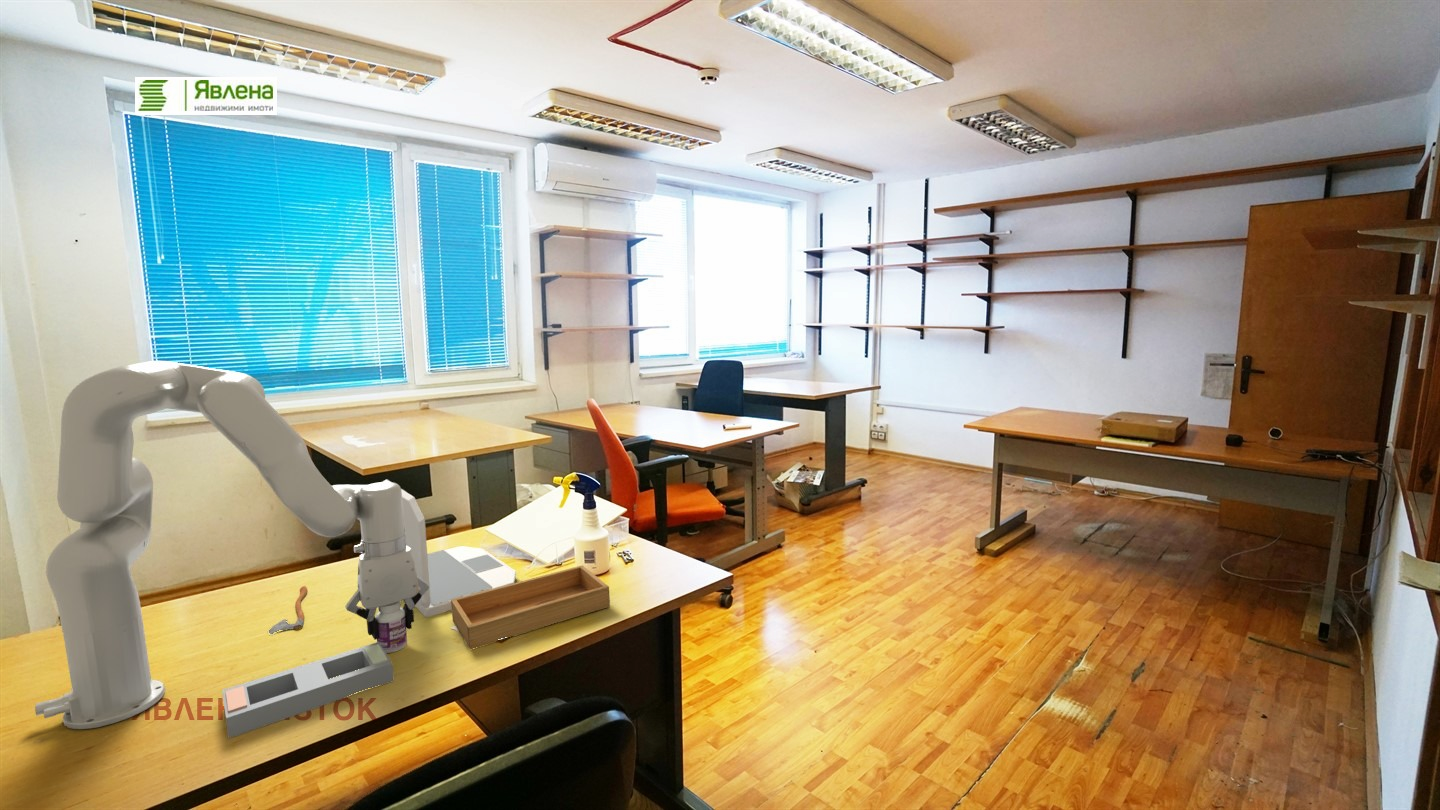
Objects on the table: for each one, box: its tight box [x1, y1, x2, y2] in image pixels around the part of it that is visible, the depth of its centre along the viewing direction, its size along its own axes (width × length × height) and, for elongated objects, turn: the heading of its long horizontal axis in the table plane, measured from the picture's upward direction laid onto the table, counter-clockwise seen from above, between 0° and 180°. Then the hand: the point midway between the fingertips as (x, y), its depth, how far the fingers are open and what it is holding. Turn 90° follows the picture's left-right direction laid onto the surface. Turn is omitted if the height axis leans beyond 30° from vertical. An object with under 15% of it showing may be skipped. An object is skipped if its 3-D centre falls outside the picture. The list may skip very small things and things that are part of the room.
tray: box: [451, 565, 611, 650], centre depth 140 cm, size 31×15×6 cm, turn 125°
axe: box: [268, 585, 308, 634], centre depth 142 cm, size 22×6×2 cm, turn 31°
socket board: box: [221, 641, 395, 739], centre depth 111 cm, size 24×10×4 cm, turn 131°
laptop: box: [382, 479, 517, 618], centre depth 157 cm, size 33×24×26 cm
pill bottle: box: [375, 601, 408, 654], centre depth 126 cm, size 5×5×10 cm
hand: (391, 630), depth 126 cm, fingers closed on pill bottle, 5 cm apart
